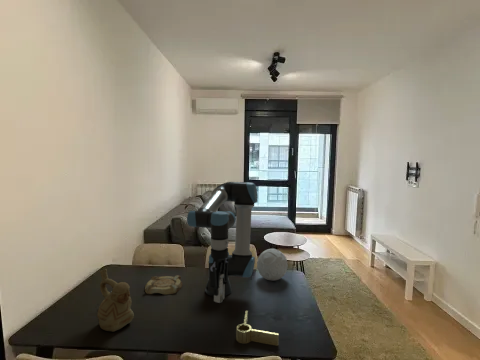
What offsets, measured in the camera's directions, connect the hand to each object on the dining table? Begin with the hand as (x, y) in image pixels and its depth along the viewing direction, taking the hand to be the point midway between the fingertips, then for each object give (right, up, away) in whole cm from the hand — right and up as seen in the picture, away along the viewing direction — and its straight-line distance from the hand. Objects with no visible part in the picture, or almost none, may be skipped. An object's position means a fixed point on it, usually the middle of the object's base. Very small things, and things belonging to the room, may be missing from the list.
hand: (219, 299), depth 132 cm
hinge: (+17, -17, +2) cm, 24 cm away
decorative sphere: (+30, -12, +63) cm, 71 cm away
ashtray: (-37, -13, +50) cm, 63 cm away
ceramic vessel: (-50, -15, +10) cm, 53 cm away
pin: (0, -1, 0) cm, 1 cm away
